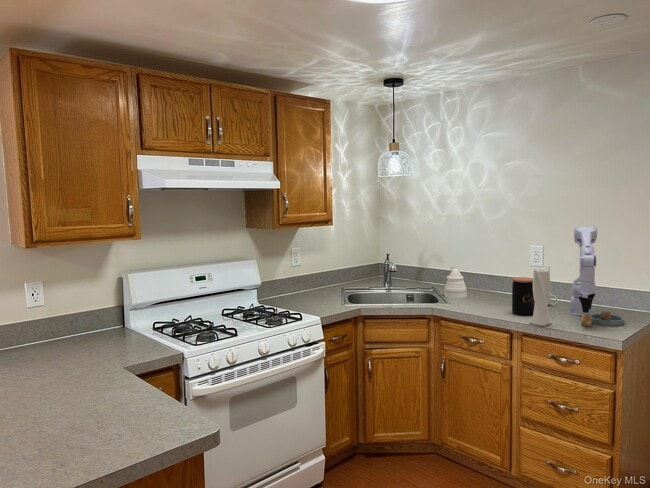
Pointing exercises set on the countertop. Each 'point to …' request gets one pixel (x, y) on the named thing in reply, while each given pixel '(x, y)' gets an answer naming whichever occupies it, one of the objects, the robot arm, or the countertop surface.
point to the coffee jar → (522, 296)
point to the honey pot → (455, 285)
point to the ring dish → (614, 321)
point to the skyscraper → (541, 296)
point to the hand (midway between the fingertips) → (586, 310)
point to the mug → (550, 299)
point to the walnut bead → (606, 315)
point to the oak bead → (586, 320)
